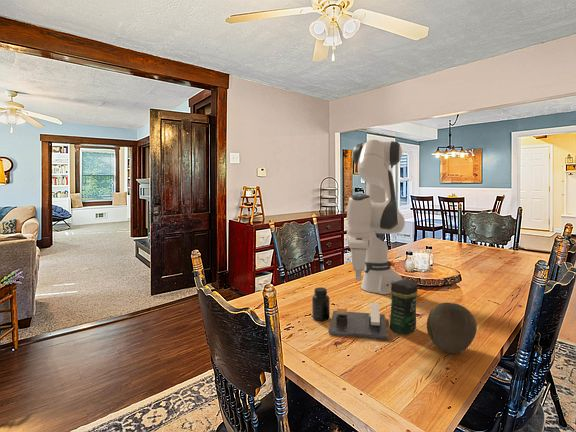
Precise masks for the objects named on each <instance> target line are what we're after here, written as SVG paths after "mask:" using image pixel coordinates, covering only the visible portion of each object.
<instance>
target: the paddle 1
mask: <svg viewBox="0 0 576 432" xmlns="http://www.w3.org/2000/svg"><path fill="white" fill-rule="evenodd" d="M347 310H348V309H347V307H340V306H339V307H337V309H336V311H337V312H336V315H348V313H346V312H348V311H347Z"/></svg>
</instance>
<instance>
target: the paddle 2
mask: <svg viewBox="0 0 576 432" xmlns="http://www.w3.org/2000/svg"><path fill="white" fill-rule="evenodd" d="M370 313H371V314H369V317H371V325H378V326H380V318H381V315H379V314H380V303H379V302H370Z"/></svg>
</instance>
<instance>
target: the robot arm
mask: <svg viewBox="0 0 576 432" xmlns="http://www.w3.org/2000/svg"><path fill="white" fill-rule="evenodd" d="M351 155H352V160H353V163H354V164H355V165H356V166H357V173H358V176H359V177H360V178H361V179H362V181H364V182H366V185H365V187H366V188H365V194H364V193H357V194H353V195H350V196H349V198H348V202H347V209H346V221H347V229H346V244H347V245H348V247H349V249H350V255H351V266H352V270H353V271H355V281H356V282H361V281H362V282H361V285H360V288H361V289H362V290H363V291H364V292H369V293H374V294H380V295H385V296H386V295H389V294H391V285H392V283H394V282H396V281H399V280H402V279H403V277H402V276H401V274H399V273H398V272H397V271H395V270H394V269H393V268H394V267H395V266H396V263H395V262H393V261H390V260H388V257H389V256H388V255H389V247H388V244H387V243H386V242H385V241H383V240H381V239H380V238H379V237H377V234H387V235H389V234H399V233H401V232H402V231H403V229H404V228H405V226H406V225H405V223H406V221H405V217H404V215H403V214H402V213H401V212H400V211H399V208H398V205H397V198H396V197H397V196H396V189H395V183H394V182H395V181H394V177H393V173H392V171H391V170H390V169H393V168H394V166H396V165H397V164H399V163H400V161H401V159H402V156H403V151H402V146H401V144H400V143H399V142H397V141H393V140H392V141H383V140H382V141H380V140H377V139H370V140H367V141H366V142H365V143H363V142H362V143H358V144H356V145H355V146H354V147H353V150H352V154H351ZM362 273H363V277H362Z"/></svg>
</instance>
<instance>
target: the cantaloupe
mask: <svg viewBox="0 0 576 432" xmlns="http://www.w3.org/2000/svg"><path fill="white" fill-rule="evenodd" d="M477 330H478V325H477V321H476V318H475V317H474V315H473V314H472V312H471V311H470V310H469V309H468V308H467V307H466V306H464V305H461V304H459V303H454V302H449V301H448V302H446V301H445V302H441V303H438V304H436V305H435V306H434V307H433V308H432V309H431V310H430V312H429V314H428V316H427V319H426V332H427V336H428V338H429V339H430V341H431V343H433V345H434V346H435V347H436V348H438V349H439V350H442V351H444V352H445V353H448V354H458V353H460V352H463V351H465V350H467V349H468V347H470V345H471V344H472V343H473V341H474V339H475V338H476V334H477Z"/></svg>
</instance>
